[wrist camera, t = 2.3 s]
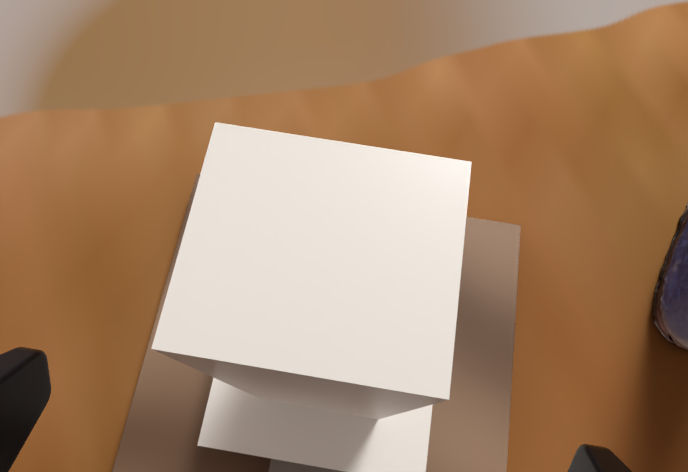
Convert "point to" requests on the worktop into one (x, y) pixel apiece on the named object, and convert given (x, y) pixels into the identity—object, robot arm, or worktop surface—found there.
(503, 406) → the rail board
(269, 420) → the slider
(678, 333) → the flask
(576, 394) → the worktop surface
